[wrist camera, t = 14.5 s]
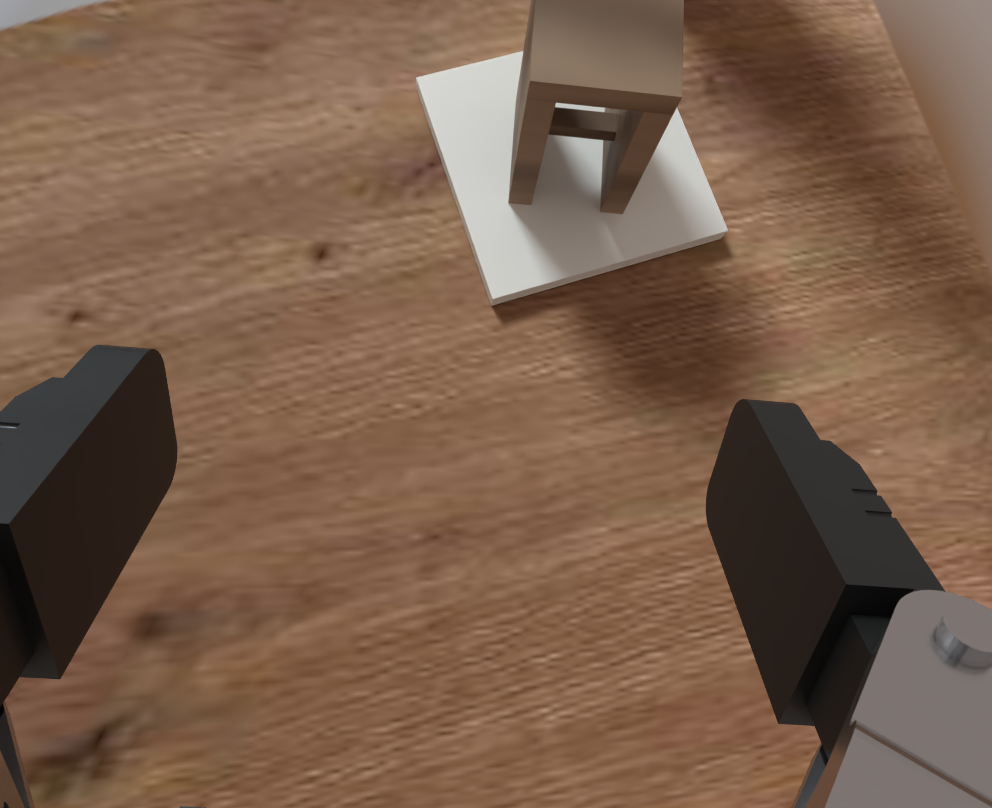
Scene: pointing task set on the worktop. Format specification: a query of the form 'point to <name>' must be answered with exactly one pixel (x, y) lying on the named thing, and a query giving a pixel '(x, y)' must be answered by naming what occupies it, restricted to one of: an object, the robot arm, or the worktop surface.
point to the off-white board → (556, 189)
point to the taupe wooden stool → (597, 87)
